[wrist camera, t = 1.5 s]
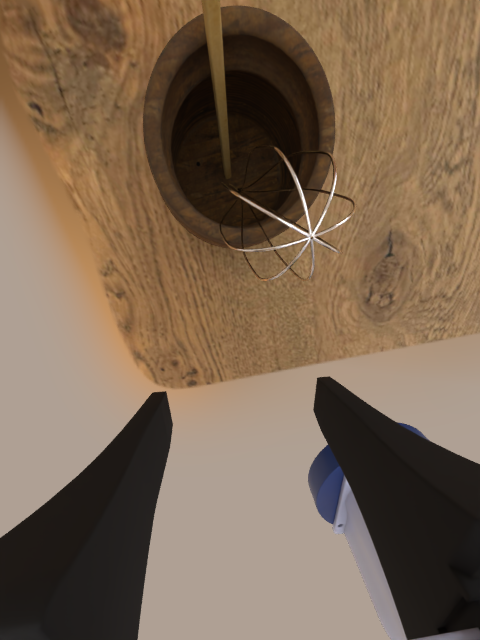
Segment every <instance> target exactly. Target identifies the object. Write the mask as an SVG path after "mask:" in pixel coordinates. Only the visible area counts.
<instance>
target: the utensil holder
mask: <svg viewBox="0 0 480 640" xmlns="http://www.w3.org/2000/svg"><path fill="white" fill-rule="evenodd" d="M202 8H203V14H201V15H199V16H197V17H196V18H194V19H193V20H191V21H190V22H188V23H187V24H186V25H185V26H183V27H182V28H181V29H180V30H179V31H178V32H177V33H176V34H175V35H174V36H173V37H172V39H171V40H170V41H169V42H168V44H167V45H166V47H165V48H164V50H163V51H162V53H161V55H160V56H159V58H158V60H157V62H156V64H155V66H154V69H153V71H152V74H151V77H150V80H149V83H148V87H147V91H146V96H145V103H144V113H143V132H144V142H145V149H146V153H147V158H148V162H149V165H150V168H151V172H152V174H153V177H154V180H155V182H156V184H157V187H158V189H159V191H160V194H161V196H162V198H163V200H164V202H165V204H166V205H167V207H168V208H169V210H170V211H171V213H172V214H173V216H174V217H175V218H176V219H177V220H178V221H179V223H180V224H181V225H182V226H183V227H185V228H186V229H187V230H188V231H189V232H191V233H192V234H193V235H195V236H196V237H198V238H200V239H201V240H203V241H206V242H208V243H210V244H213V245H217V246H221V247H227V248H232V249H234V250H238V251H243V255H244V257H245V260H246V262H247V264H248V265H249V267H250V269H251V270H252V272H253V273H254V275H255V276H256V277H257V278H258V279H259V280H262V281H270V280H273V279H275V278H277V277H279V276H280V275H282V274H283V273H284V272H286V271H287V270H288V269H289V270H290V271H291V272H292V273H293V274H294V275H295V276H296V277H297V278H298V279H300V280H302V281H308V280H309V279H310V278H311V277H312V275H313V271H314V262H315V256H314V244H313V241H315V242H317V243H319V244H321V245H323V246H324V247H326V248H328V249H330V250H332V251H334V252H336V253H338V254H342V251H340V250H339V249H337V248H336V247H334V246H333V245H331V244H329V243H328V242H326V241H324V240H323V239H321V238H319V237H318V236H320V235H322V234H325V233H327V232H329V231H331V230H333V229H335V228H337V227H338V226H340V225H342V224H343V223H345V222H346V221H347V220H348V219H350V218H351V217H352V215H353V214H354V213H355V211H356V203H355V201H354V200H353V199H351V198H349V197H346V196H343V195H340V194H336V193H334V189H335V185H336V179H337V166H336V161H335V159H334V157H333V150H334V142H335V112H334V105H333V99H332V94H331V90H330V87H329V83H328V80H327V78H326V75H325V72H324V70H323V68H322V66H321V64H320V62H319V60H318V58H317V56H316V54H315V53H314V51H313V50H312V48H311V47H310V46H309V44H308V43H307V42H306V40H305V39H304V38H303V37H302V36H301V35H300V34H299V33H298V32H297V31H296V30H295V29H294V28H293V27H292V26H291V25H289V24H288V23H287V22H285V21H284V20H282V19H281V18H279V17H277V16H276V15H273V14H271V13H269V12H267V11H264V10H261V9H258V8H254V7H248V6H226V7H221V8H220V0H202ZM331 161H332V164H333V183H332V188H331V191H330V192H328V191H324V190H321V188H322V186H323V184H324V182H325V179H326V177H327V174H328V171H329V168H330V164H331ZM319 192H321V193H326V194H330V195H329V198H328V201H327V203H326V206H325V208H324V211H323V213H322V215H321V217H320V219H319V221H318V223H317V225H316V226H315V228H314V230H313V232H312V229H311V223H310V219H309V214H308V209H309V208H310V206H311V205H312V204H313V202H314V201H315V199H316V197H317V196H318V194H319ZM332 196H336V197H340V198H343V199H346V200H348V201H350V202H351V203H352V204H353V210H352V212H351V213H350V214H349V215H348V216H347V217H346V218H345V219H344V220H342V221H341V222H339V223H337V224H335V225H334V226H332V227H330V228H328V229H326V230H323V231H321V232H319V233H316V231H317V229H318V228H319V226H320V224H321V222H322V220H323V218H324V216H325V214H326V212H327V210H328V207H329V205H330V202H331V199H332ZM304 214H305V217H306V221H307V226H308V230H306V229H304V228H303V227H301V226H299V225H298V224H296V222H297V221H298V220H299V219H300V218H301V217H302V216H303V215H304ZM293 224H294V225H296V226H297V227H299V228H301V229H302V230H301V229H299V228H297V227H295V226H294V225H293ZM289 227H290V228H292V229H293V230H295V231H297V232H299V233H301V234H302V235H304V236H306V238H303V239H300V240H297V241H294V242H290V243H287V244H283V245H279V246H274V247H273V245H272V244H271V242H270V240H269V239H271V238H273V237H275V236H277V235H279V234H280V233H282V232H284V231H285V230H287V229H288V228H289ZM303 230H304V231H306V232H307V233H306V232H304V231H303ZM308 233H309V234H308ZM315 233H316V234H315ZM311 236H312V238H310V237H311ZM266 240H268V242H269V244H270V245H271V247H268V248H260V249H244V247H249V246H253V245H257V244H260V243H262V242H264V241H266ZM304 241H306V243H305V244H304V246H303V248H302V249H301V250H300V252H299V253H298V254H297V256H296V257H295V258H294V259H293V261H292V262H291V263H290V264H289V265H287V264H286V262H285V261H284V260H283V259H282V258H281V257H280V255H279V254H278V253H277V251H276V250H275V249H280V248H284V247H288V246H291V245H295V244H298V243H301V242H304ZM309 243H310V246H311V272H310V275H309V277H308V278H306V279H303V278H301V277H300V276H299V275H297V274H296V273H295V272H294V271H293V270H292V269H291V268H290V267H291V266H292V265H293V264H294V263H295V262H296V260H297V259H298V258H299V257H300V255H301V254H302V253H303V251H304V250H305V249H306V247H307V246H308V244H309ZM269 250H274V252H275V253H276V255H277V256H278V257H279V258H280V260H281V261H282V262H283V263H284V264H285V265H286V266H287V267H286V268H285V269H284V270H282V271H281V272H280V273H279V274H277V275H275V276H273V277H271V278H266V279H265V278H261V277H259V276H258V275H257V274H256V272H255V271H254V269H253V268H252V266H251V265H250V263H249V261H248V259H247V257H246V255H245V252H261V251H269Z"/></svg>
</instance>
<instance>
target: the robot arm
mask: <svg viewBox="0 0 480 640" xmlns="http://www.w3.org/2000/svg"><path fill="white" fill-rule="evenodd" d="M314 413H315V416H316V418H317V421H318V424H319V426H320V429H321V431H322V433H323V435H324V437H325V439H326V441H327V443H328V445H329V447H330V449H331V451H332V453H333V454H334V456H335V458H336V460H337V462H338V464H339V466H340V468H341V470H342V472H343V474H344V477H343V482H342V487H341V491H340V496H339V500H338V505H337V509H336V514H335V519H334V523H333V531H334V533H335V534H343V533H344V534H345V536H346V538H347V541H348V544H349V546H350V548H351V551H352V553H353V556H354V558H355V561H356V563H357V566H358V568H359V570H360V573H361V575H362V578H363V580H364V583H365V585H366V587H367V590H368V593H369V595H370V598H371V599H372V602H373V605H374V607H375V610H376V612H377V615H378V617H379V619H380V621H381V623H382V625H383V627H384V629H385V631H386V633H387V634H388V636H389V637H390V639H391V640H480V464H478V463H475V462H473V461H470V460H468V459H466V458H464V457H462V456H460V455H457V454H455V453H453V452H451V451H449V450H447V449H445V448H443V447H441V446H439V445H436V444H435V443H433V442H431V441H429V440H427V439H425V438H423V437H421V436H419V435H417V434H416V433H414V432H412V431H410V430H409V429H407V428H405V427H403V426H401V425H400V424H398V423H396V422H395V421H393V420H391V419H390V418H388V417H387V416H385V415H384V414H382V413H381V412H379V411H378V410H376V409H375V408H373V407H371V406H370V405H368V404H367V403H366V402H364V401H363V400H361V399H360V398H359V397H357V396H356V395H354V394H353V393H352V392H350V391H349V390H348V389H346V388H345V387H344V386H342V385H341V384H339V383H338V382H336V381H335V380H334V379H332V378H331V377H320V378H317V385H316V394H315V401H314ZM172 426H173V423H172V419H171V413H170V409H169V403H168V398H167V393H166V391H165V392H154V393H152V394H151V395H150V396H149V398H148V399H147V400H146V401H145V403H144V404H143V405H142V406H141V408H140V409H139V410H138V411H137V413H136V414H135V415H134V416H133V418H132V419H131V420H130V421H129V422H128V424H127V425H126V426H125V427H124V428H123V430H122V431H121V432H120V433H119V434H118V435H117V436H116V437H115V439H114V440H113V441H112V442H111V443H110V444H109V445H108V446H107V447H106V448H105V450H104V451H103V452H102V453H101V454H100V455H99V456H98V457H97V458H96V459H95V460H94V461H93V462H92V463H91V464H90V465H89V466H87V468H85V469H84V470H83V471H82V472H81V473H80V474H79V475H78V476H77V477H76V478H75V479H73V480H72V481H71V482H70V483H69V484H68V485H66V486H65V487H64V488H63V489H62V490H61V491H59V492H58V493H57V494H56V495H55V496H54V497H52V498H51V499H50V500H49V501H48V502H47V503H45V504H44V505H43V506H41V507H40V508H39V509H38V510H36V511H35V512H34V513H33V514H32V515H30V516H29V517H28V518H26V519H25V520H24V521H22V522H21V523H20V524H18V525H17V526H16V527H15V528H13V529H12V530H11V531H9V532H8V533H6V534H5V535H4V536H2V537H1V538H0V640H137V639H138V630H139V621H140V613H141V604H142V596H143V589H144V581H145V574H146V566H147V559H148V552H149V545H150V539H151V532H152V526H153V519H154V513H155V508H156V503H157V499H158V495H159V490H160V486H161V482H162V478H163V474H164V470H165V466H166V462H167V457H168V453H169V449H170V442H171V435H172Z"/></svg>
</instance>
